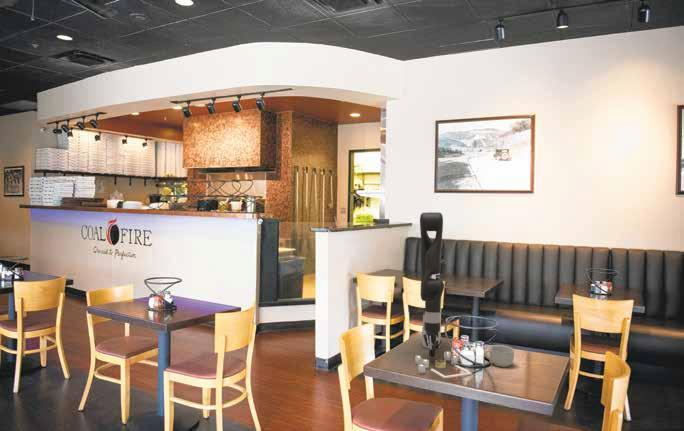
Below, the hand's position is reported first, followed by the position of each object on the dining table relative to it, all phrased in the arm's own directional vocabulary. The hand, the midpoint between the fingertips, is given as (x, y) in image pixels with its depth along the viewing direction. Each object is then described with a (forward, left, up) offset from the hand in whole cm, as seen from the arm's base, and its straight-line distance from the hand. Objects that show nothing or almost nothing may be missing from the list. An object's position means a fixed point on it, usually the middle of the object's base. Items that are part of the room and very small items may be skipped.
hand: (431, 356), depth 231 cm
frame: (+15, 0, -3) cm, 15 cm away
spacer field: (+7, 0, -3) cm, 7 cm away
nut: (+7, 0, -3) cm, 7 cm away
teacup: (+15, +27, -3) cm, 31 cm away
